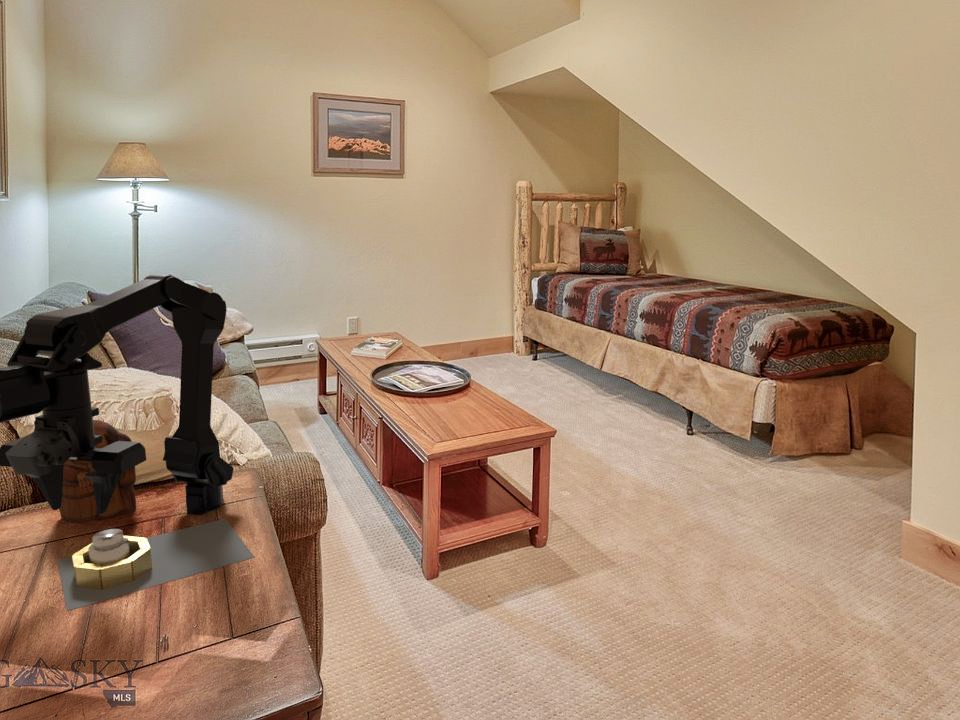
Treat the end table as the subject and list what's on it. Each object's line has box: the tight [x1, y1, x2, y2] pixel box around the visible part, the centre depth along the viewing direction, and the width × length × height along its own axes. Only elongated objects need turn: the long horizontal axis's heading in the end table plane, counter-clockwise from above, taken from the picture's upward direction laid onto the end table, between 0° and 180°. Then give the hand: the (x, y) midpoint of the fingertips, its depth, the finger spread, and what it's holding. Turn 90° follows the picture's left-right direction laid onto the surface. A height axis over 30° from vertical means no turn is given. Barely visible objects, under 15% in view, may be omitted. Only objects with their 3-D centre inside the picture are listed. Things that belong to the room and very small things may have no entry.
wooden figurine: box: [58, 419, 137, 524], centre depth 109 cm, size 12×6×18 cm, turn 122°
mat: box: [56, 518, 256, 612], centre depth 96 cm, size 24×16×2 cm, turn 127°
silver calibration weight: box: [88, 528, 130, 565], centre depth 91 cm, size 5×5×6 cm
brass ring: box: [71, 535, 152, 590], centre depth 91 cm, size 9×9×3 cm
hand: (79, 511), depth 91 cm, fingers open, 7 cm apart
